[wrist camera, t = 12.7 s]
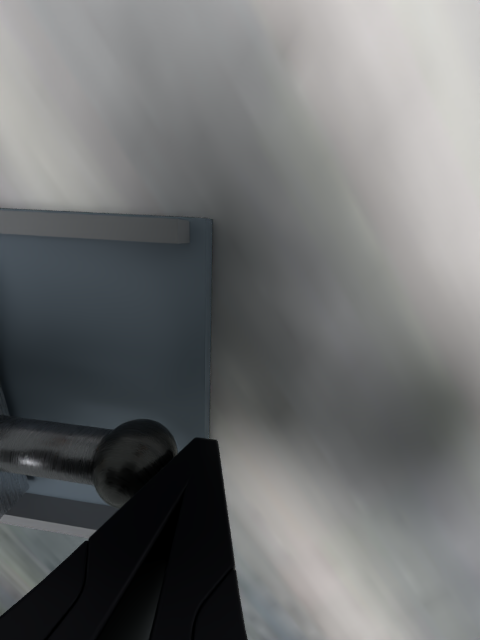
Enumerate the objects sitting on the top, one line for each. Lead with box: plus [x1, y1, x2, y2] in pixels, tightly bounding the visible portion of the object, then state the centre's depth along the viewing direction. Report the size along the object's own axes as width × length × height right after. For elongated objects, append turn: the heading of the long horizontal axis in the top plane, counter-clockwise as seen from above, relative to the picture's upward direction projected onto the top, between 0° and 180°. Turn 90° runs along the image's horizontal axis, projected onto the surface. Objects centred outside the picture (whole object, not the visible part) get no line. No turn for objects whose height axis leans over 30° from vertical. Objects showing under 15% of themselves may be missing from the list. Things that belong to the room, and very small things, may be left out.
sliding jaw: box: [0, 382, 178, 519], centre depth 8 cm, size 10×10×4 cm
